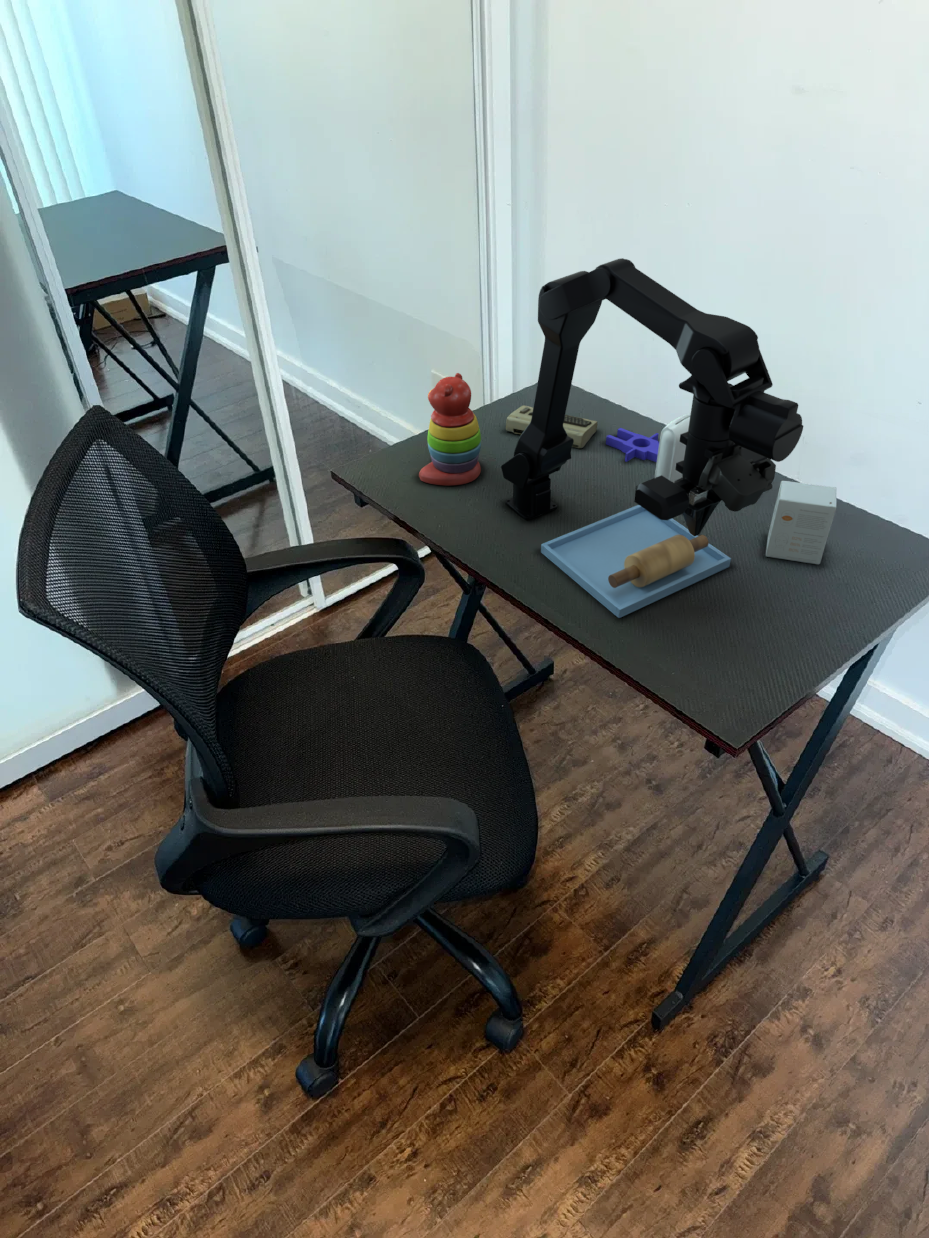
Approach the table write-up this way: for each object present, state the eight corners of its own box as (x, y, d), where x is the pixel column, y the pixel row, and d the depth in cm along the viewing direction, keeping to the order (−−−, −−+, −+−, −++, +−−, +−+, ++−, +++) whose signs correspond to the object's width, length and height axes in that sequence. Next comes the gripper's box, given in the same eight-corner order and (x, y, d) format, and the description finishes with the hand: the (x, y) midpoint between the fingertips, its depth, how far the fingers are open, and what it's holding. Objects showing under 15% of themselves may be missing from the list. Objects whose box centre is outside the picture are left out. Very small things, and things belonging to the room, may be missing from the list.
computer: (597, 430, 158) (599, 414, 156) (581, 450, 152) (582, 433, 150) (523, 414, 164) (523, 399, 162) (505, 432, 158) (505, 417, 156)
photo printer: (692, 466, 147) (703, 401, 139) (710, 476, 144) (722, 411, 136) (649, 484, 143) (658, 419, 135) (667, 495, 140) (676, 429, 132)
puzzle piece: (627, 430, 157) (628, 422, 156) (682, 450, 151) (683, 442, 150) (596, 449, 152) (597, 442, 151) (651, 471, 146) (652, 463, 145)
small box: (820, 545, 128) (838, 486, 121) (819, 566, 124) (838, 507, 117) (766, 536, 130) (781, 479, 123) (764, 557, 126) (779, 498, 119)
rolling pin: (600, 586, 121) (602, 558, 118) (689, 546, 128) (694, 519, 125) (622, 604, 118) (625, 576, 115) (713, 562, 125) (718, 535, 121)
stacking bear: (443, 452, 154) (437, 361, 142) (492, 463, 150) (490, 370, 138) (414, 480, 146) (406, 386, 135) (465, 493, 143) (462, 397, 131)
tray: (540, 552, 129) (541, 544, 128) (645, 509, 137) (646, 501, 136) (618, 618, 117) (619, 609, 116) (729, 566, 125) (731, 558, 124)
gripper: (702, 481, 93) (684, 588, 104) (816, 434, 100) (788, 539, 111) (637, 442, 101) (626, 546, 111) (747, 401, 108) (727, 502, 118)
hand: (694, 534), depth 112 cm, fingers closed
